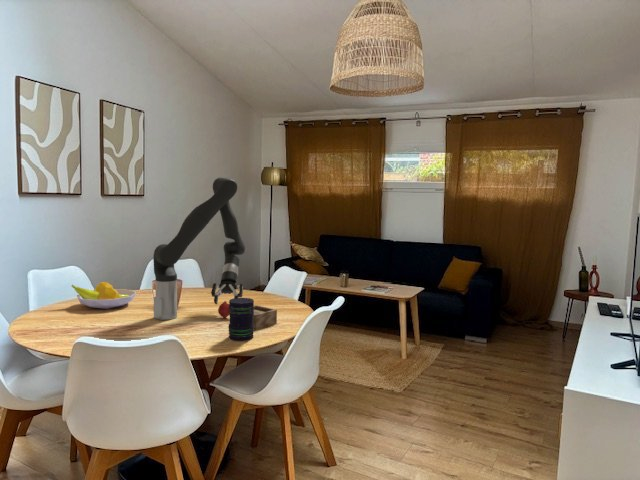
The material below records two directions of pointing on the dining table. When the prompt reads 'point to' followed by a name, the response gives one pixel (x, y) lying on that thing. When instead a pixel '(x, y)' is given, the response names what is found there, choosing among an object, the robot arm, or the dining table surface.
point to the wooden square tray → (264, 317)
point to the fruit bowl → (104, 296)
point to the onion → (224, 309)
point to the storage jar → (241, 319)
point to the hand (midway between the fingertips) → (225, 303)
